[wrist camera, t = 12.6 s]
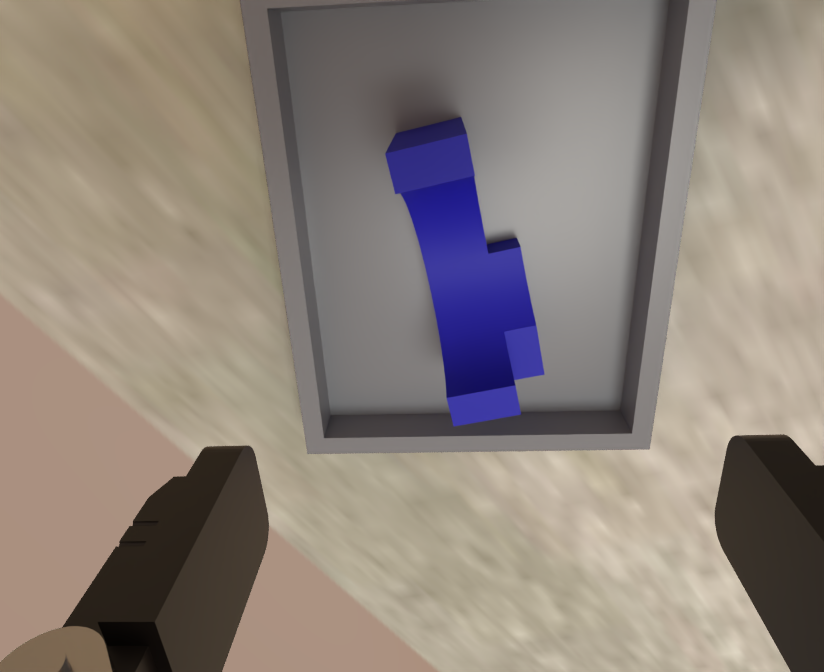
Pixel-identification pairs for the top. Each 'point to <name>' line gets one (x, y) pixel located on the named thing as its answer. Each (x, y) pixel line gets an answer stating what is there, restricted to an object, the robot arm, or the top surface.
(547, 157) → the tray
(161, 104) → the top surface
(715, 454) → the top surface
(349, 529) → the top surface
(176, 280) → the top surface
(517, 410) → the blue curved block
